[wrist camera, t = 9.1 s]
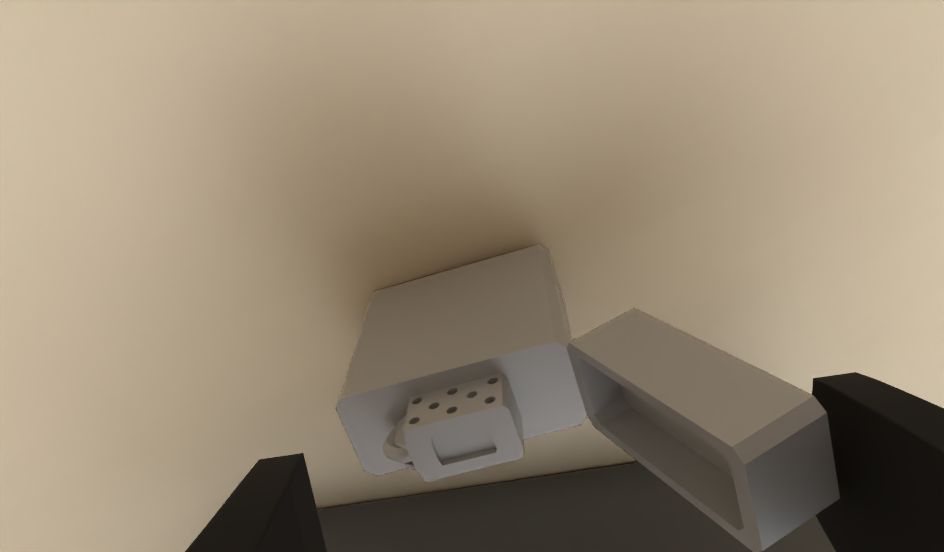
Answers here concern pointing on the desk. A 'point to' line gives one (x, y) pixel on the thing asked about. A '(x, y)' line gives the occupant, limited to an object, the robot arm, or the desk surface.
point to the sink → (547, 519)
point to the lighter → (578, 395)
